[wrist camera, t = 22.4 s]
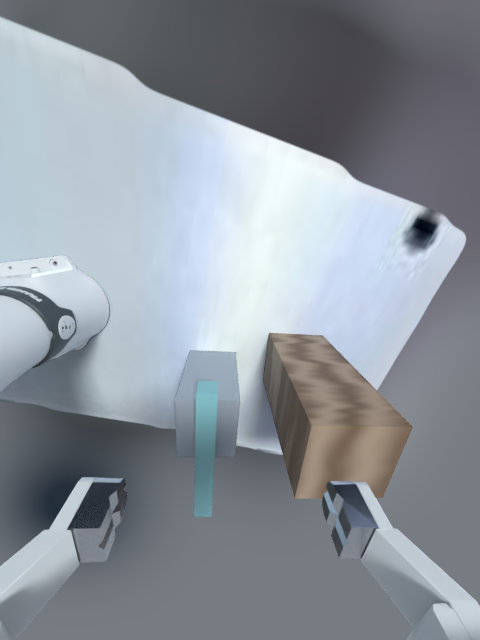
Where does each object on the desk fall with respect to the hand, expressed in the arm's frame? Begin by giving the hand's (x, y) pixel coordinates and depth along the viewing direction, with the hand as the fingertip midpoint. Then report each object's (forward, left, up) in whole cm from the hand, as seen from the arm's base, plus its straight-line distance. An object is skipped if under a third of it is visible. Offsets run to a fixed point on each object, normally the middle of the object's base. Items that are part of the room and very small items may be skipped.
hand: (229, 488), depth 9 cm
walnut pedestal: (+16, -15, -39) cm, 45 cm away
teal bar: (-2, -24, -23) cm, 33 cm away
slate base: (-2, -20, -39) cm, 44 cm away
